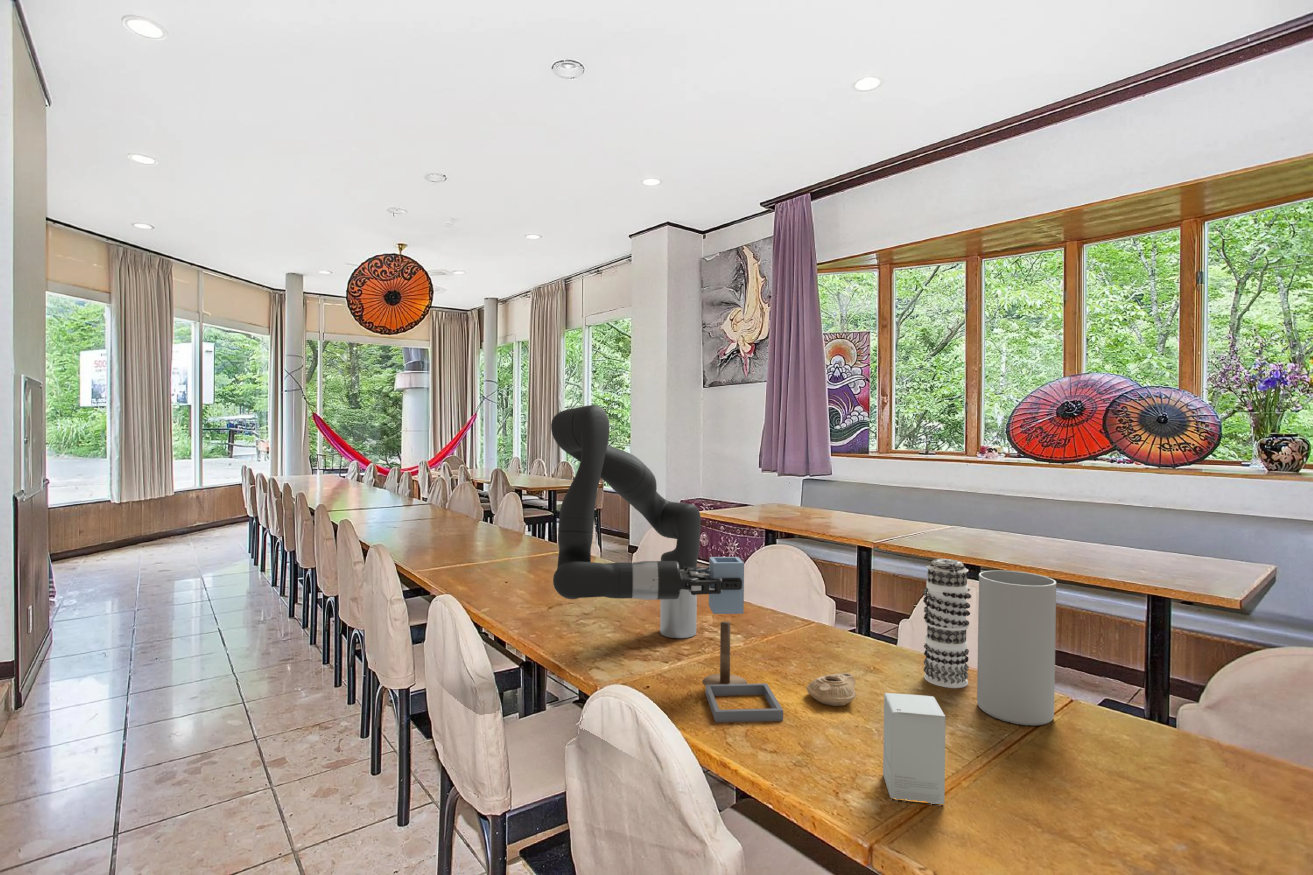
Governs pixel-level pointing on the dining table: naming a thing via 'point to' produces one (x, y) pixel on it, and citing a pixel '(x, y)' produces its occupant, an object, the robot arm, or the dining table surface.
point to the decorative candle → (946, 624)
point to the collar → (727, 598)
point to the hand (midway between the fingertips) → (737, 579)
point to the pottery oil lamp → (833, 689)
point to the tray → (743, 714)
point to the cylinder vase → (1016, 646)
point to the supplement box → (914, 748)
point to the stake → (724, 661)
